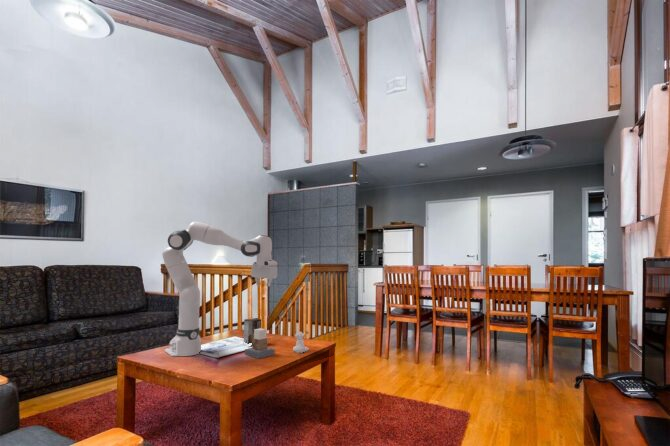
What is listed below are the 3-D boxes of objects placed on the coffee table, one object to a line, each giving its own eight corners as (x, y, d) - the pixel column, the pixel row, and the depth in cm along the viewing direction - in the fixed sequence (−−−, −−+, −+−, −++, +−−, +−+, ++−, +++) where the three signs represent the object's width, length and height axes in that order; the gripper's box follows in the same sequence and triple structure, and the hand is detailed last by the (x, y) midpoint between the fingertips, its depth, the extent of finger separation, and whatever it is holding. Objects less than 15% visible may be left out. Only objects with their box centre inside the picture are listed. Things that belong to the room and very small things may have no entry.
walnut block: (252, 348, 215) (252, 338, 215) (260, 347, 220) (260, 336, 220) (258, 350, 211) (259, 340, 212) (267, 348, 216) (267, 338, 216)
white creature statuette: (308, 350, 226) (309, 330, 227) (307, 354, 218) (307, 333, 219) (293, 350, 227) (293, 329, 227) (291, 353, 218) (291, 332, 219)
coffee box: (256, 342, 242) (256, 317, 243) (260, 344, 237) (261, 319, 239) (243, 345, 236) (243, 319, 238) (247, 347, 232) (248, 320, 233)
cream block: (253, 338, 215) (254, 329, 216) (260, 336, 219) (260, 328, 220) (259, 339, 212) (259, 330, 213) (266, 338, 216) (266, 329, 217)
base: (244, 354, 214) (244, 349, 215) (261, 350, 224) (261, 345, 224) (258, 358, 207) (258, 352, 207) (274, 354, 216) (274, 348, 216)
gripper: (248, 261, 227) (248, 284, 226) (271, 262, 214) (270, 287, 213) (257, 261, 232) (256, 284, 231) (279, 262, 219) (278, 286, 218)
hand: (263, 285), depth 222 cm, fingers open, 8 cm apart
